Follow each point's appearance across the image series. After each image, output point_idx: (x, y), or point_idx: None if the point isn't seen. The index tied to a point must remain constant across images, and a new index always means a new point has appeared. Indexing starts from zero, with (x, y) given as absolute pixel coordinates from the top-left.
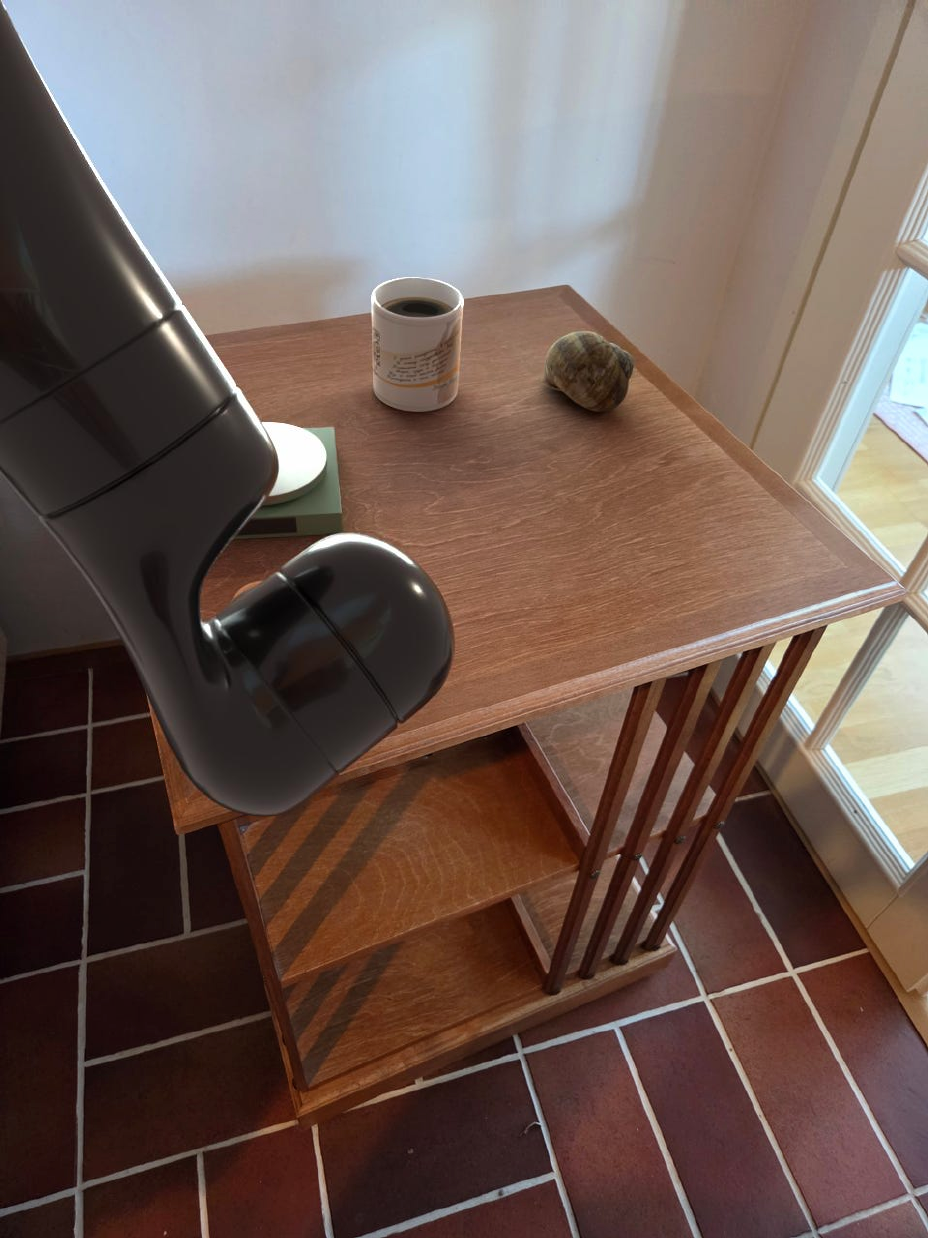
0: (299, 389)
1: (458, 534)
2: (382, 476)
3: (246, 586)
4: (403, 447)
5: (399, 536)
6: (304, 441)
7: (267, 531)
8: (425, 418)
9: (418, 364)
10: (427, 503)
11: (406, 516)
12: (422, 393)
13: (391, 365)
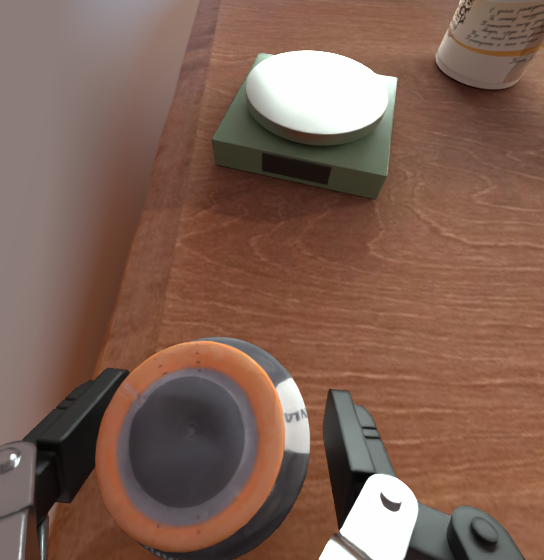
0: (366, 44)
1: (512, 239)
2: (430, 145)
3: (172, 352)
4: (457, 119)
5: (439, 221)
6: (366, 81)
7: (296, 175)
8: (483, 95)
9: (516, 22)
10: (477, 188)
11: (450, 198)
12: (495, 65)
13: (480, 21)
